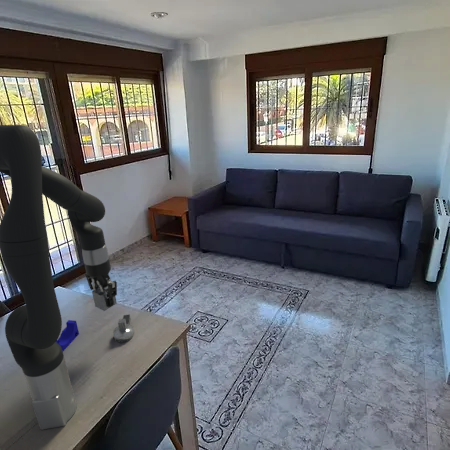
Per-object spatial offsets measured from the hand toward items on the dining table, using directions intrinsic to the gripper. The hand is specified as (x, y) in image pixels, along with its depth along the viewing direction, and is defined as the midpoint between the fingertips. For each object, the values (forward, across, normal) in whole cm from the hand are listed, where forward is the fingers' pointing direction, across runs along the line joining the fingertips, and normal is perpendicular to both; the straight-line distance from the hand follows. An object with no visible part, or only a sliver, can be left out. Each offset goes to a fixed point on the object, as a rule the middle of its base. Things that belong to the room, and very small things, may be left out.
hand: (105, 303), depth 108 cm
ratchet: (+16, +1, -6) cm, 17 cm away
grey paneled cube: (+1, 0, 0) cm, 1 cm away
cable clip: (+16, +14, +11) cm, 24 cm away
